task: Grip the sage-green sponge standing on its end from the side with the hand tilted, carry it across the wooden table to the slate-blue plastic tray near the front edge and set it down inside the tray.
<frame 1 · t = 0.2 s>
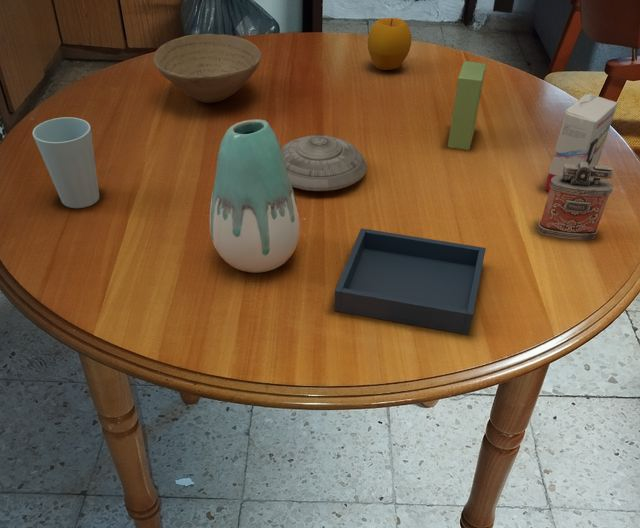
bowl: (212, 100, 124), on the table
tray: (410, 288, 87), on the table
apple: (386, 69, 134), on the table
flying saucer: (318, 175, 106), on the table
cup: (81, 200, 100), on the table
vase: (257, 259, 91), on the table
sponge: (460, 139, 114), on the table
lighter: (565, 233, 96), on the table
ink box: (568, 184, 105), on the table
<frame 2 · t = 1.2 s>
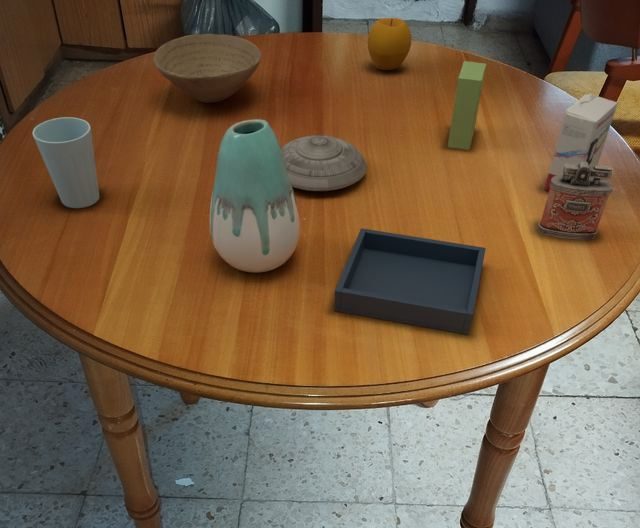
nothing on the table moved.
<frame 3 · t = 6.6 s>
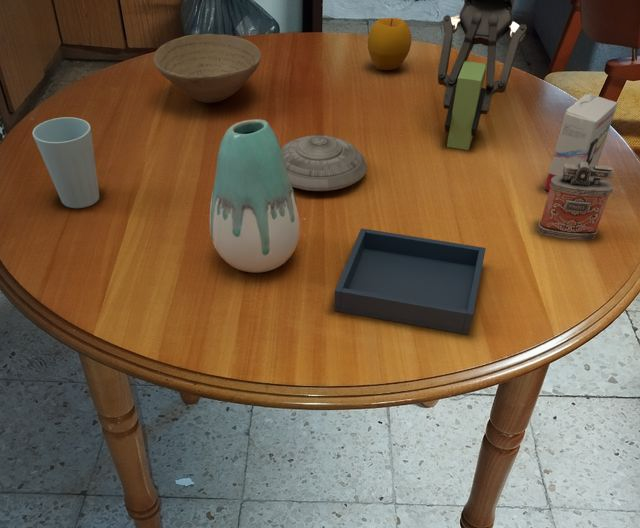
hand: (460, 130, 109), 3 cm above the table, tool tilted 45°, fingers closed on sponge, 4 cm apart
sponge: (460, 139, 114), on the table, touching gripper
everything else where it was.
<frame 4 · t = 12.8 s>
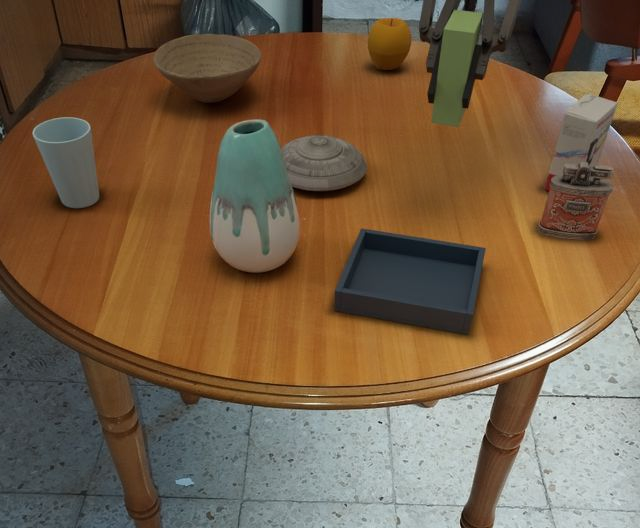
hand: (448, 100, 84), 17 cm above the table, tool tilted 45°, fingers closed on sponge, 4 cm apart
sponge: (449, 113, 89), point 14 cm above the table, touching gripper
everything else where it was.
when the fingers open (4 cm above the table, at t = 19.1 s): sponge stays where it is, resting on tray.
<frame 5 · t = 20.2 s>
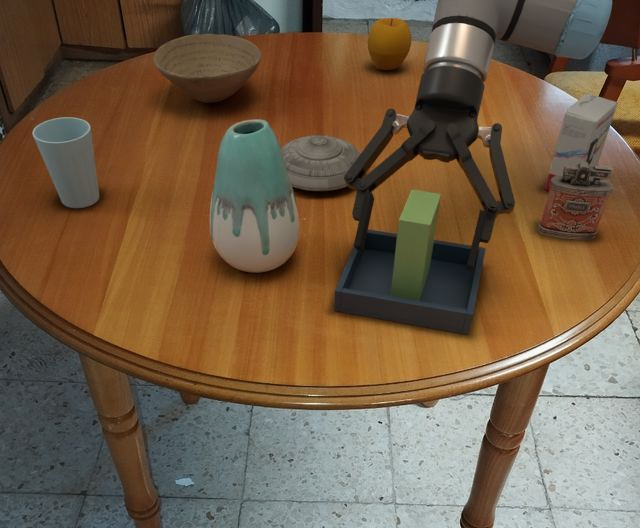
hand: (413, 258, 81), 6 cm above the table, tool tilted 45°, fingers open, 13 cm apart
sponge: (410, 284, 86), point 1 cm above the table, touching tray
everything else where it was.
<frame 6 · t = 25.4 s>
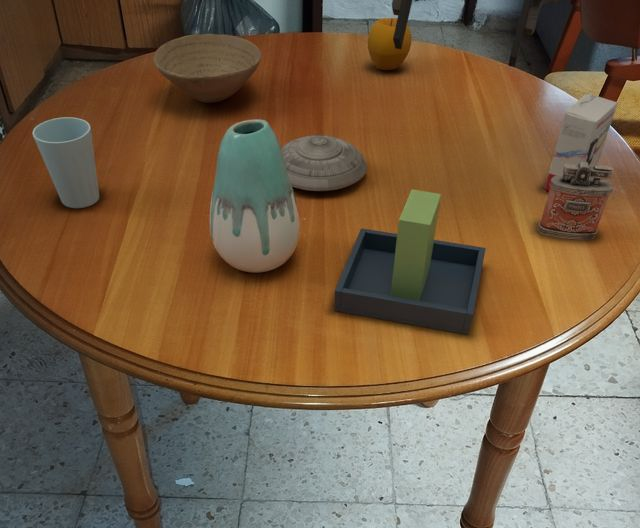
hand: (453, 53, 79), 23 cm above the table, tool tilted 40°, fingers open, 13 cm apart
nothing on the table moved.
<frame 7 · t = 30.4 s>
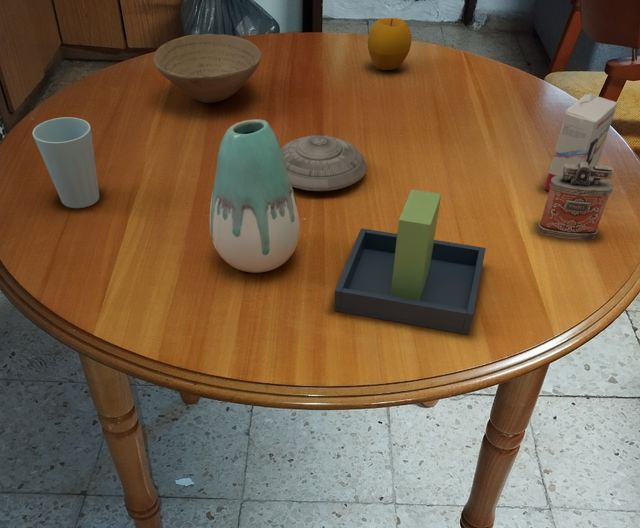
nothing on the table moved.
at the end: sponge inside the target area in the tray (0.1 cm from its centre), point 0.6 cm above the tray's base; the gripper is holding nothing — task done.
